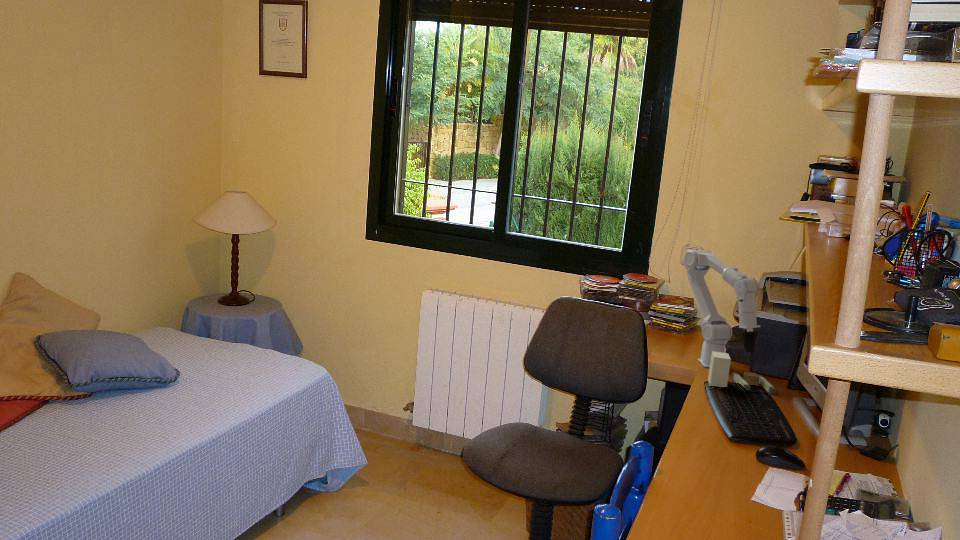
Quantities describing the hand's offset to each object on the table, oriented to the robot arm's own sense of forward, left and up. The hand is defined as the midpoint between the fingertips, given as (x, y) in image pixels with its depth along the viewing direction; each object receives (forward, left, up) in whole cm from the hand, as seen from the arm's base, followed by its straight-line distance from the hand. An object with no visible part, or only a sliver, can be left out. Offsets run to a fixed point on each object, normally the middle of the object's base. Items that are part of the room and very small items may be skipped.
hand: (749, 351), depth 278 cm
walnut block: (+5, 0, -10) cm, 11 cm away
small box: (+10, -13, -10) cm, 19 cm away
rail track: (+7, 0, -10) cm, 12 cm away
